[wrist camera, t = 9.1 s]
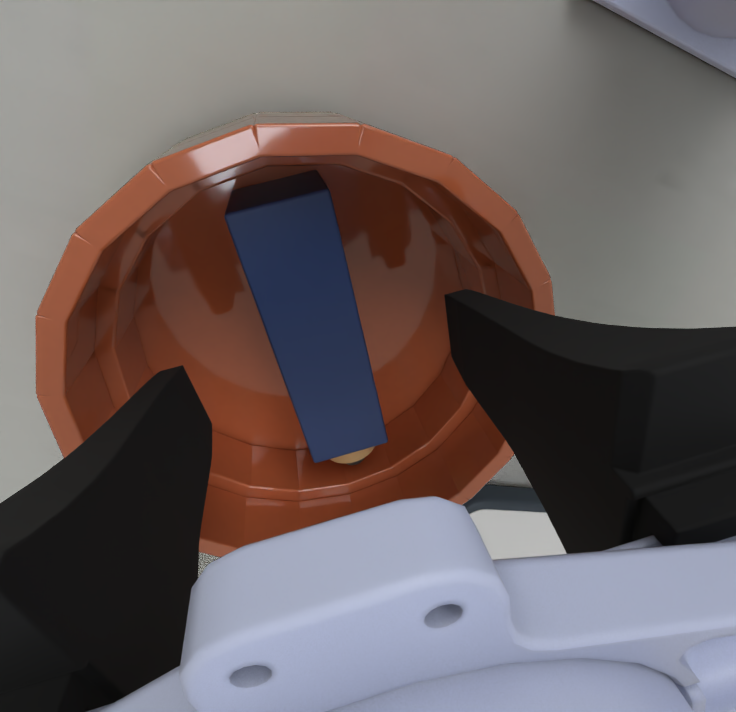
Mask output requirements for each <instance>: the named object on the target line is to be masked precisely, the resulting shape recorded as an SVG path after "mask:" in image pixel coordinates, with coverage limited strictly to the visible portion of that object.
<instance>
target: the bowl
mask: <svg viewBox="0 0 736 712" xmlns="http://www.w3.org/2000/svg"><path fill="white" fill-rule="evenodd" d="M312 170H317V171H318V172H319V174H320V176H321V177H322V179H323V180H324V182H325V184H326V185H327V187H328V188H329V190H330V192H331V197H332V201H333V205H334V210H335V214H336V218H337V222H338V227H339V231H340V235H341V240H342V244H343V248H344V252H345V257H346V261H347V265H348V270H349V274H350V278H351V282H352V287H353V291H354V295H355V300H356V304H357V308H358V313H359V317H360V321H361V325H362V330H363V334H364V338H365V343H366V347H367V351H368V355H369V360H370V364H371V368H372V373H373V377H374V381H375V385H376V390H377V394H378V398H379V403H380V407H381V411H382V416H383V420H384V424H385V428H386V433H387V437H388V442H387V443H384V444H381V445H377V446H375V447H374V449H373V450H372V452H371V453H370V454H369V455H368V456H366V457H365V458H364V460H363V461H362V462H361V463H359V464H357V465H348V464H346V463H337V462H334V461H332V460H330V459H329V460H325V461H322V462H318V463H314V461H313V459H312V457H311V454H310V451H309V448H308V446H307V443H306V440H305V437H304V435H303V432H302V429H301V427H300V424H299V421H298V418H297V416H296V413H295V410H294V407H293V405H292V402H291V399H290V396H289V394H288V391H287V388H286V385H285V383H284V380H283V377H282V374H281V372H280V369H279V366H278V364H277V361H276V358H275V355H274V353H273V350H272V347H271V344H270V342H269V339H268V336H267V333H266V331H265V328H264V325H263V322H262V320H261V317H260V314H259V311H258V309H257V306H256V303H255V300H254V298H253V295H252V292H251V290H250V287H249V284H248V281H247V279H246V276H245V273H244V270H243V268H242V265H241V262H240V259H239V257H238V254H237V251H236V248H235V246H234V243H233V240H232V237H231V235H230V232H229V229H228V227H227V224H226V221H225V218H224V215H225V211H226V208H227V205H228V202H229V198H230V195H231V192H232V191H233V190H235V189H239V188H244V187H248V186H252V185H256V184H260V183H264V182H268V181H272V180H276V179H280V178H284V177H288V176H292V175H296V174H300V173H304V172H308V171H312ZM464 289H468V290H473V291H476V292H479V293H482V294H486V295H489V296H492V297H494V298H497V299H500V300H503V301H506V302H509V303H512V304H516V305H519V306H522V307H525V308H529V309H532V310H535V311H539V312H543V313H547V314H551V315H555V311H554V301H553V291H552V281H551V279H550V275H549V273H548V271H547V269H546V267H545V265H544V263H543V261H542V259H541V257H540V255H539V253H538V251H537V249H536V247H535V245H534V243H533V241H532V239H531V237H530V235H529V233H528V231H527V229H526V227H525V225H524V223H523V221H522V219H521V217H520V215H519V214H517V211H516V210H515V209H514V208H513V207H512V206H510V205H509V204H508V203H507V202H506V201H505V200H504V199H502V198H501V197H500V196H499V195H498V194H497V193H496V192H494V191H493V190H492V189H491V188H490V187H489V186H488V185H486V184H485V183H484V182H483V181H482V180H481V179H480V178H478V177H477V176H476V175H475V174H474V173H473V172H472V171H470V170H469V169H468V168H467V167H466V166H465V165H464V164H462V163H461V162H460V161H459V160H458V159H457V158H455V157H453V156H451V155H449V154H447V153H444V152H441V151H439V150H436V149H433V148H431V147H428V146H425V145H423V144H420V143H417V142H415V141H412V140H409V139H407V138H404V137H401V136H399V135H396V134H393V133H390V132H387V131H385V130H382V129H379V128H376V127H374V126H371V125H368V124H365V123H363V122H360V121H357V120H354V119H352V118H349V117H346V116H343V115H341V114H338V113H332V112H259V113H257V114H256V113H253V114H250V115H247V116H245V117H242V118H239V119H237V120H234V121H231V122H229V123H226V124H223V125H221V126H218V127H216V128H213V129H210V130H208V131H205V132H202V133H200V134H197V135H194V136H192V137H189V138H186V139H185V140H183V141H181V142H180V143H178V144H177V145H175V146H174V147H172V148H171V149H169V150H168V151H167V152H165V153H164V154H162V155H161V156H159V157H158V158H156V159H155V160H153V161H152V162H150V163H149V164H147V165H146V166H145V167H144V168H143V169H142V170H140V171H139V172H138V173H137V174H136V175H135V176H134V177H133V178H132V179H131V180H129V181H128V182H127V183H126V184H125V185H124V186H123V187H122V188H121V189H119V190H118V191H117V192H116V193H115V194H114V195H113V196H112V197H111V198H109V199H108V200H107V201H106V202H105V203H104V204H103V205H102V206H101V207H100V208H98V209H97V210H96V211H95V212H94V213H93V214H92V215H91V216H90V217H88V218H87V219H86V220H85V221H84V222H83V223H82V224H81V225H80V226H78V227H77V228H76V230H75V232H74V233H73V234H72V235H71V238H70V240H69V242H68V244H67V246H66V249H65V251H64V253H63V255H62V257H61V260H60V262H59V264H58V266H57V268H56V270H55V273H54V275H53V277H52V279H51V281H50V284H49V286H48V288H47V290H46V292H45V295H44V297H43V299H42V301H41V303H40V306H39V308H38V310H37V315H36V394H37V398H38V401H39V403H40V405H41V407H42V410H43V412H44V414H45V416H46V419H47V421H48V423H49V425H50V428H51V430H52V432H53V434H54V437H55V439H56V441H57V444H58V446H59V448H60V450H61V453H62V455H63V457H64V458H65V457H66V456H68V455H69V454H70V453H71V452H73V451H74V450H75V449H76V448H77V447H78V446H80V445H81V444H82V443H83V442H84V441H85V440H86V439H88V438H89V437H90V436H91V435H92V434H93V433H94V432H95V431H96V430H97V429H99V428H100V427H101V426H102V425H103V424H104V423H105V422H106V421H107V420H108V419H109V418H111V417H112V416H113V415H114V414H115V413H116V412H117V411H118V410H119V409H120V408H121V407H122V406H123V405H124V404H125V403H126V402H127V401H128V400H129V399H130V398H131V397H132V396H133V395H134V394H135V393H136V392H137V391H138V390H139V389H140V388H141V387H142V386H143V385H144V384H145V383H146V382H147V381H149V380H150V379H151V378H152V377H153V376H154V375H156V374H157V373H158V372H160V371H163V370H166V369H170V368H174V367H178V366H181V365H183V366H184V368H185V370H186V372H187V374H188V376H189V378H190V380H191V382H192V384H193V386H194V388H195V390H196V392H197V394H198V396H199V398H200V400H201V402H202V404H203V406H204V408H205V410H206V412H207V414H208V416H209V418H210V420H211V422H212V461H211V468H210V474H209V481H208V487H207V493H206V499H205V506H204V512H203V518H202V524H201V532H200V541H199V552H201V553H205V554H209V555H213V556H217V557H222V556H224V555H226V554H228V553H230V552H232V551H234V550H236V549H238V548H240V547H242V546H244V545H247V544H251V543H254V542H258V541H261V540H264V539H268V538H271V537H275V536H278V535H281V534H285V533H288V532H291V531H295V530H298V529H302V528H305V527H308V526H312V525H315V524H319V523H322V522H325V521H329V520H332V519H335V518H339V517H342V516H346V515H349V514H352V513H356V512H359V511H363V510H366V509H369V508H373V507H376V506H379V505H383V504H386V503H390V502H393V501H396V500H400V499H409V498H419V497H428V496H437V497H440V498H443V499H446V500H448V501H451V502H454V503H457V504H460V505H463V504H464V503H466V502H467V501H469V499H472V498H473V497H474V496H475V495H476V494H477V493H478V492H479V491H480V489H481V488H482V487H483V486H484V485H485V484H486V483H487V482H488V481H489V480H490V479H491V478H492V477H493V476H494V475H495V474H496V473H497V472H498V471H499V470H500V469H501V468H502V467H503V466H504V465H505V464H506V463H507V462H508V461H509V460H510V459H511V457H512V456H513V455H514V452H513V451H512V449H511V448H510V446H509V445H508V443H507V442H506V440H505V439H504V437H503V436H502V434H501V433H500V432H499V430H498V429H497V427H496V426H495V425H494V423H493V422H492V421H491V419H490V418H489V416H488V415H487V414H486V412H485V411H484V410H483V408H482V407H481V405H480V404H479V403H478V401H477V400H476V398H475V397H474V396H473V394H472V393H471V391H470V390H469V389H468V387H467V386H466V384H465V383H464V381H463V379H462V377H461V375H460V373H459V371H458V369H457V367H456V365H455V363H454V361H453V359H452V357H451V348H450V340H449V331H448V323H447V314H446V306H445V297H444V295H445V294H449V293H453V292H456V291H460V290H464Z"/></svg>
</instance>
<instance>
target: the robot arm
mask: <svg viewBox="0 0 736 712" xmlns="http://www.w3.org/2000/svg"><path fill="white" fill-rule="evenodd" d="M593 1H595V2H597V3H599V4H600V5H602V6H604V7H606V8H608V9H610V10H611V11H613V12H615V13H617V14H619V15H621V16H622V17H624V18H626V19H628V20H630V21H632V22H633V23H635V24H637V25H639V26H641V27H643V28H644V29H646V30H648V31H650V32H652V33H654V34H655V35H657V36H659V37H661V38H663V39H665V40H666V41H668V42H670V43H672V44H674V45H676V46H677V47H679V48H681V49H683V50H685V51H687V52H688V53H690V54H692V55H694V56H696V57H698V58H699V59H701V60H703V61H705V62H707V63H709V64H710V65H712V66H714V67H716V68H718V69H720V70H721V71H723V72H725V73H727V74H729V75H731V76H733V77H734V78H736V0H593ZM444 297H445V306H446V314H447V323H448V331H449V340H450V348H451V357H452V359H453V361H454V363H455V365H456V367H457V369H458V371H459V373H460V375H461V377H462V379H463V381H464V383H465V384H466V386H467V387H468V389H469V390H470V391H471V393H472V394H473V396H474V397H475V398H476V400H477V401H478V403H479V404H480V405H481V407H482V408H483V410H484V411H485V412H486V414H487V415H488V416H489V418H490V419H491V421H492V422H493V423H494V425H495V426H496V427H497V429H498V430H499V432H500V433H501V434H502V436H503V437H504V439H505V440H506V442H507V443H508V445H509V446H510V448H511V449H512V451H513V452H514V454H515V456H516V458H517V459H518V461H519V463H520V465H521V467H522V468H523V470H524V472H525V474H526V476H527V477H528V479H529V481H530V483H531V485H532V487H533V488H534V490H535V492H536V494H537V496H538V498H539V500H540V502H541V504H542V505H543V507H544V509H545V511H546V513H547V515H548V517H549V519H550V521H551V523H552V525H553V527H554V529H555V531H556V533H557V535H558V537H559V539H560V541H561V543H562V545H563V547H564V549H565V551H566V553H567V554H559V555H547V556H534V557H521V558H508V559H496V560H492V558H491V556H490V554H489V552H488V550H487V548H486V546H485V544H484V542H483V540H482V537H481V535H480V533H479V531H478V529H477V527H476V525H475V523H474V522H473V520H472V518H471V517H470V515H469V513H468V511H467V510H466V508H465V506H462V505H460V504H457V503H454V502H451V501H448V500H446V499H443V498H440V497H437V496H428V497H419V498H409V499H400V500H396V501H393V502H390V503H386V504H383V505H379V506H376V507H373V508H369V509H366V510H363V511H359V512H356V513H352V514H349V515H346V516H342V517H339V518H335V519H332V520H329V521H325V522H322V523H319V524H315V525H312V526H308V527H305V528H302V529H298V530H295V531H291V532H288V533H285V534H281V535H278V536H275V537H271V538H268V539H264V540H261V541H258V542H254V543H251V544H247V545H244V546H242V547H240V548H238V549H236V550H234V551H232V552H230V553H228V554H226V555H224V556H222V557H220V558H218V559H217V560H215V561H213V562H211V563H209V564H208V565H207V566H206V568H205V569H204V570H203V572H202V573H201V575H200V576H199V578H198V559H199V541H200V532H201V524H202V518H203V512H204V506H205V499H206V493H207V487H208V481H209V474H210V468H211V461H212V422H211V420H210V418H209V416H208V414H207V412H206V410H205V408H204V406H203V404H202V402H201V400H200V398H199V396H198V394H197V392H196V390H195V388H194V386H193V384H192V382H191V380H190V378H189V376H188V374H187V372H186V370H185V368H184V366H183V365H181V366H178V367H174V368H170V369H166V370H163V371H160V372H158V373H157V374H156V375H154V376H153V377H152V378H151V379H150V380H149V381H147V382H146V383H145V384H144V385H143V386H142V387H141V388H140V389H139V390H138V391H137V392H136V393H135V394H134V395H133V396H132V397H131V398H130V399H129V400H128V401H127V402H126V403H125V404H124V405H123V406H122V407H121V408H120V409H119V410H118V411H117V412H116V413H115V414H114V415H113V416H112V417H111V418H109V419H108V420H107V421H106V422H105V423H104V424H103V425H102V426H101V427H100V428H99V429H97V430H96V431H95V432H94V433H93V434H92V435H91V436H90V437H89V438H88V439H86V440H85V441H84V442H83V443H82V444H81V445H80V446H78V447H77V448H76V449H75V450H74V451H73V452H71V453H70V454H69V455H68V456H66V457H65V458H64V459H63V460H61V461H60V462H59V463H57V464H56V465H55V466H53V467H52V468H51V469H50V470H48V471H47V472H46V473H44V474H43V475H42V476H40V477H39V478H37V479H36V480H34V481H33V482H31V483H30V484H29V485H27V486H26V487H24V488H23V489H21V490H20V491H18V492H17V493H15V494H14V495H12V496H11V497H9V498H8V499H6V500H5V501H3V502H2V503H0V712H736V327H721V328H698V329H669V328H640V327H627V326H617V325H606V324H599V323H591V322H586V321H580V320H574V319H569V318H564V317H559V316H555V315H551V314H547V313H543V312H539V311H535V310H532V309H529V308H525V307H522V306H519V305H516V304H512V303H509V302H506V301H503V300H500V299H497V298H494V297H492V296H489V295H486V294H482V293H479V292H476V291H473V290H468V289H464V290H460V291H456V292H453V293H449V294H445V295H444Z"/></svg>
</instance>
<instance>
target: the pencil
mask: <svg viewBox="0 0 736 712" xmlns="http://www.w3.org/2000/svg"><path fill="white" fill-rule="evenodd" d="M224 218H225V221H226V224H227V227H228V229H229V232H230V235H231V237H232V240H233V243H234V246H235V248H236V251H237V254H238V257H239V259H240V262H241V265H242V268H243V270H244V273H245V276H246V279H247V281H248V284H249V287H250V290H251V292H252V295H253V298H254V300H255V303H256V306H257V309H258V311H259V314H260V317H261V320H262V322H263V325H264V328H265V331H266V333H267V336H268V339H269V342H270V344H271V347H272V350H273V353H274V355H275V358H276V361H277V364H278V366H279V369H280V372H281V374H282V377H283V380H284V383H285V385H286V388H287V391H288V394H289V396H290V399H291V402H292V405H293V407H294V410H295V413H296V416H297V418H298V421H299V424H300V427H301V429H302V432H303V435H304V437H305V440H306V443H307V446H308V448H309V451H310V454H311V457H312V459H313V461H314V463H318V462H322V461H325V460H329V459H330V460H332V461H334V462H337V463H346V464H348V465H357V464H359V463H361V462H362V461H363V460H364V458H365V457H366V456H368V455H369V454H370V453H371V452H372V450H373V449H374V447H375V446H377V445H381V444H384V443H387V442H388V437H387V433H386V428H385V424H384V420H383V416H382V411H381V407H380V403H379V398H378V394H377V390H376V385H375V381H374V377H373V373H372V368H371V364H370V360H369V355H368V351H367V347H366V343H365V338H364V334H363V330H362V325H361V321H360V317H359V313H358V308H357V304H356V300H355V295H354V291H353V287H352V282H351V278H350V274H349V270H348V265H347V261H346V257H345V252H344V248H343V244H342V240H341V235H340V231H339V227H338V222H337V218H336V214H335V210H334V205H333V201H332V197H331V192H330V190H329V188H328V187H327V185H326V184H325V182H324V180H323V179H322V177H321V176H320V174H319V172H318V171H317V170H312V171H308V172H304V173H300V174H296V175H292V176H288V177H284V178H280V179H276V180H272V181H268V182H264V183H260V184H256V185H252V186H248V187H244V188H239V189H235V190H233V191H232V192H231V195H230V198H229V202H228V205H227V208H226V211H225V215H224Z"/></svg>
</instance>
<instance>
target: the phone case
mask: <svg viewBox="0 0 736 712" xmlns="http://www.w3.org/2000/svg"><path fill="white" fill-rule="evenodd" d="M462 506H465V508H466V510H467V511H468V513H469V515H470V517H471V518H472V520H473V522H474V523H475V525H476V527H477V529H478V531H479V533H480V535H481V537H482V540H483V542H484V544H485V546H486V548H487V550H488V552H489V554H490V556H491V558H492V560H496V559H508V558H521V557H534V556H547V555H559V554H567V553H566V551H565V549H564V547H563V545H562V543H561V541H560V539H559V537H558V535H557V533H556V531H555V529H554V527H553V525H552V523H551V521H550V519H549V517H548V515H547V513H546V511H545V509H544V507H543V505H542V504H541V502H540V500H539V498H538V496H537V494H536V492H535V490H534V488H521V487H507V486H494V485H484V486H483V487H482V488H481V489H480V491H479V492H478V493H477V494H476V495H475V496H474V497H473V498H472V499H469V501H467V502H466V503H464V504H463V505H462Z"/></svg>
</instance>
